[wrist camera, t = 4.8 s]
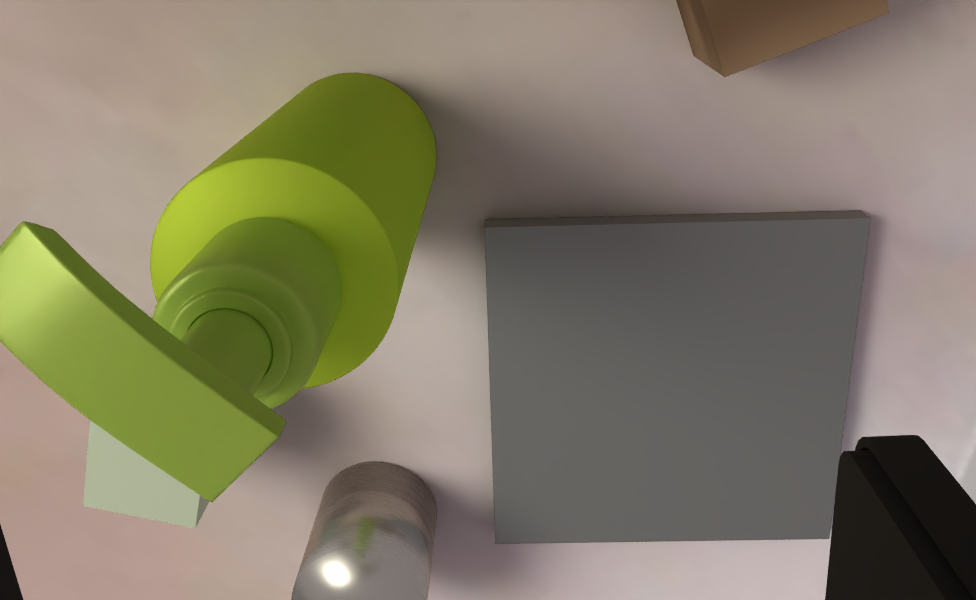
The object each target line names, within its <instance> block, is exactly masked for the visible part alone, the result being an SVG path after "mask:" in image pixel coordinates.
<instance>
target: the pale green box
mask: <svg viewBox="0 0 976 600" xmlns="http://www.w3.org/2000/svg"><path fill="white" fill-rule="evenodd" d="M208 503H209V501H208V500H206V499H205V498H203V497H202V496H200V495H199V494H197V493H196V492H194V491H193V490H191V489H190V488H188V487H187V486H185V485H184V484H182V483H181V482H179V481H178V480H176V479H175V478H173V477H172V476H170V475H169V474H167V473H166V472H164V471H163V470H161V469H160V468H158V467H157V466H155V465H154V464H152V463H151V462H149V461H148V460H146V459H145V458H143V457H142V456H140V455H139V454H137V453H136V452H134V451H133V450H132V449H130V448H129V447H127V446H126V445H124V444H123V443H121V442H120V441H119V440H117V439H116V438H114V437H113V436H112V435H110V434H109V433H107V432H106V431H105V430H103V429H102V428H100V427H99V426H98V425H96V424H95V423H94V422H92V421H91V420H90V429H89V441H88V453H87V466H86V478H85V490H84V502H83V506H87V507H92V508H96V509H101V510H106V511H111V512H116V513H121V514H126V515H131V516H136V517H141V518H146V519H151V520H156V521H161V522H166V523H171V524H176V525H181V526H186V527H191V528H196V526H197V524H198V522H199V520H200V518H201V516H202V514H203V512H204V510H205V509H206V507H207V505H208Z"/></svg>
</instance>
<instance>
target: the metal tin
mask: <svg viewBox="0 0 976 600" xmlns="http://www.w3.org/2000/svg"><path fill="white" fill-rule="evenodd" d="M436 519H437V508H436V502H435V499H434V496H433V494H432V492H431V490H430V489H429V487H428V486H427V485H426V483H425V482H424V481H423V480H422V479H421V478H420V477H418V476H417V475H416V474H415V473H413V472H412V471H410V470H408V469H406V468H404V467H402V466H399V465H396V464H392V463H388V462H377V461H373V462H364V463H359V464H356V465H353V466H351V467H348V468H346V469H345V470H343V471H341V472H340V473H339V474H337V475H336V476H335V477H334V478H333V479H332V480H331V481H330V483H329V484H328V486H327V487H326V489H325V491H324V494H323V497H322V500H321V503H320V506H319V509H318V513H317V516H316V519H315V522H314V525H313V528H312V531H311V535H310V538H309V541H308V544H307V547H306V550H305V553H304V556H303V560H302V563H301V566H300V569H299V572H298V575H297V578H296V582H295V585H294V588H293V592H292V599H291V600H427V598H428V589H429V580H430V572H431V563H432V554H433V545H434V537H435V528H436Z"/></svg>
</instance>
